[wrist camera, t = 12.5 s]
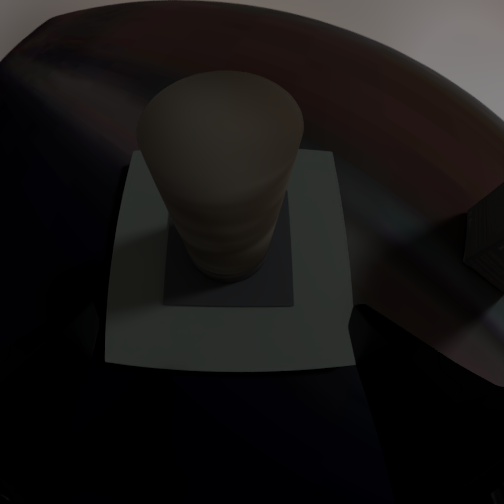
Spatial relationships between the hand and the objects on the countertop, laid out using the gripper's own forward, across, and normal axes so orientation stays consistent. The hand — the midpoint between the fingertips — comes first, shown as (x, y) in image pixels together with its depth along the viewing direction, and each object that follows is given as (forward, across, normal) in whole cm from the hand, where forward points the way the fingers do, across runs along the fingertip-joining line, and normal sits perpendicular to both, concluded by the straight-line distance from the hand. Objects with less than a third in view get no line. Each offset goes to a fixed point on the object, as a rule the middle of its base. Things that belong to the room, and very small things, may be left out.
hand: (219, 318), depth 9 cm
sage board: (+11, 0, +3) cm, 11 cm away
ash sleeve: (+9, 0, +2) cm, 9 cm away
